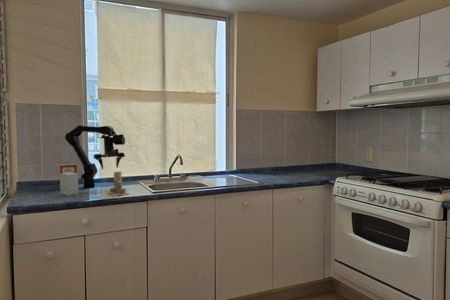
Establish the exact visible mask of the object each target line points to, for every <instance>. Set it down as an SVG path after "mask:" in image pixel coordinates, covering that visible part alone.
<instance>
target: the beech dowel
mask: <svg viewBox="0 0 450 300" xmlns="http://www.w3.org/2000/svg"><path fill="white" fill-rule="evenodd" d="M122 174H123V173H122V171H120V170H119V171H113V187H114V189H121V188H123V185H122V184H123V183H122V181H123V180H122V179H123V178H122V177H123V176H122Z"/></svg>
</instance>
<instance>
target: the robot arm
mask: <svg viewBox="0 0 450 300" xmlns="http://www.w3.org/2000/svg"><path fill="white" fill-rule="evenodd" d="M83 132H86V133H98V134H101V136H100V137H99V138H100V139H103V148H104V150H103V151H104V154H102V153H95V154H93V159H95V160H96V161H97V162H98V163H99V165H100V167H101V169H102V170H104V165H103V164H104V162H103V158H113V157H114V158H115V157H116V158H115V166H116V169H118V167H119V164H120V161H121V160H122V159H123V158H125V153H124V152H121V151H120V152H119V149H118V148H115V147H114V145H116V146H117V145H118V146H122V145H125V144H126V139H125V136H124V134H123V133H122V134H118V133H116V131H115V128H114V127H113V126H110V125H104V126H88V125H87V126H86V125H80V124H79V125H77V126H76V127H75V128H73V129H72V130H70V131H69V132H67V133H66V134H65V135H64V139H65V140H66V142H67V143H68V144H69V145H70V146H72V148H73V150H74V152H75V153H76V155H77V157H78V159H79V160H80V162H81V165H82V167H83V168H82V170H83V173H82V174H81V176H80V178H81V179H82V188H83V189H92V188H95V186H96V185H95V184H96V183H95V177H96V175H97V173H98V167H97V166H96V163H94V162H93V163H92V162H91V161H90V159H89V158H88V156H87V155H86V153H85V150H84V149H83V147H82V146H81V143H80V136H81V135H82V133H83Z"/></svg>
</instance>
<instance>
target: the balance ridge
mask: <svg viewBox="0 0 450 300" xmlns="http://www.w3.org/2000/svg"><path fill="white" fill-rule="evenodd" d="M109 188H110V191H107V192H106V195H110V196H116V197H122V196H126V195H130V192H128V191H126V188H123V187H122V188H121V189H114V186H112V187H109Z"/></svg>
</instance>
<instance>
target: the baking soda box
mask: <svg viewBox="0 0 450 300" xmlns="http://www.w3.org/2000/svg"><path fill="white" fill-rule="evenodd" d="M58 165H59V175H60V174H63V173H78V172H77V170H78V168H77V164H76V163H67V164H58ZM59 189H60V190H61V188H60V187H59Z"/></svg>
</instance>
